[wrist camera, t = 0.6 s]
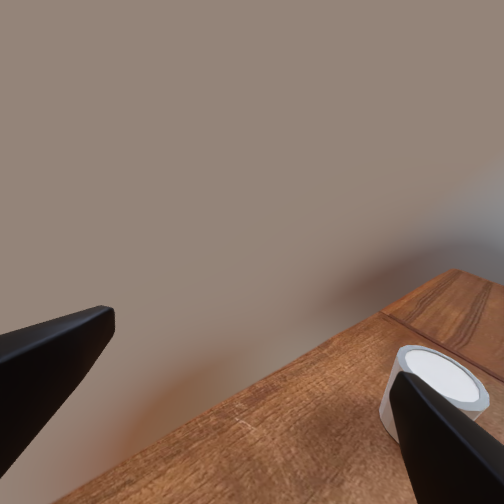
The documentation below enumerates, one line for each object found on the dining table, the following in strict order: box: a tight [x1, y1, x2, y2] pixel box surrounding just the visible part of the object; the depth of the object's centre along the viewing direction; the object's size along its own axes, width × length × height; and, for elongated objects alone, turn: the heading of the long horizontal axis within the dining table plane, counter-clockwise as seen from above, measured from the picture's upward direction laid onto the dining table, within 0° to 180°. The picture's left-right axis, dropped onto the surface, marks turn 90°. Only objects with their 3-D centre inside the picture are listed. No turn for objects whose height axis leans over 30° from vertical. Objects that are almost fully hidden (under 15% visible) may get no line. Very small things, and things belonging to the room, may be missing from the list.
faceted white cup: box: [379, 345, 489, 443], centre depth 23 cm, size 7×7×7 cm
